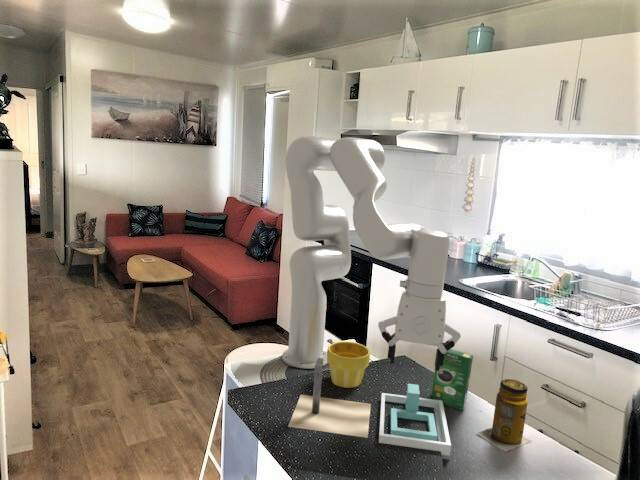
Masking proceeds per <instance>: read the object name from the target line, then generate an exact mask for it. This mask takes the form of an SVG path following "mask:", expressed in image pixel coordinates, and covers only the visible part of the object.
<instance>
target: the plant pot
mask: <svg viewBox="0 0 640 480" xmlns="http://www.w3.org/2000/svg"><path fill="white" fill-rule="evenodd" d="M326 350H327V351H326V354H327V364H328V365H329V371H330V378H331V383H333V385H335V386H337V387H341V388H346V389H347V388H350V389H351V388H357V387H359V385H361V382H362V380H363V377H364V374H365V371H366V368H368V366H369V365H370V359H371V351H370V348H369V347H367V346H365V345H364V344H361V343H358V342H353V341H337V342H336V341H335V342H332V343H331V344H330V345H329V346H328V347H327V349H326Z"/></svg>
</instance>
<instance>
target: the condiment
mask: <svg viewBox="0 0 640 480" xmlns="http://www.w3.org/2000/svg"><path fill="white" fill-rule="evenodd" d="M499 383H500V387H499V389H498V392H497V393H496V399H495V404H494V412H493V420H492V427H490V428H486V429H484V430H482V431H478V432H476V434H477V435H478V436H479V437H481V438H482V439H484V440H485V441H487V442H489V443H490V444H492V445H493V446H495V447H496V448H498V449H499V450H502V451H504V452H508V451H511V450H513V449H515V448H517V447H521V446H523V445H526V444H527V443H530V442H531V441H532V440H530V439H529V438H527V437H525V436H524V429H525V422H526V415H527V409H528V408H527V407H528V403H529V402H528V398H527V396H528V386H527V385H526V384H525V383H523V382H522V381H519V380H516V379H510V378H507V379H502V380H501V382H499Z"/></svg>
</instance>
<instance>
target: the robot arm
mask: <svg viewBox="0 0 640 480" xmlns="http://www.w3.org/2000/svg"><path fill="white" fill-rule="evenodd" d="M285 154H286V155H285V163H284V164H285V172H286V177H287V179H288V184H289V188H290V190H289V191H290V202H291V219H292V221H291V222H292V228H293V229H292V231H293V233H294V236H295V237H296V238H297V239H298V240H300V241H303V242H313V241H314V242H315V241H323V244H322V245H321V244H319V245H309V246H308V245H307V246H302V247H300V248H298V249H296V250H295V251H294V252H292V254H291V256H290V257H289V258H290V259H289V272H290V281H291V297H290V298H291V299H290V316H289V318H290V319H289V332H288V333H289V335H288V349H286V350H284V351H283V352H282V357H281V358H282V361H283V362H284V363H285V364H286V365H288V366H290V367H293V368H297V369H305V370H308V369H309V370H310V369H314V367H315V365H316V362H317V359H318V358H323V359H324V360H323V366H322V367H324V366H326V364H328V362H327V352H325V351H324V343H325V329H326V327H325V326H326V315H327V314H326V312H327V304H328V303H327V294H326V291H325V289H324V287H323V285H322V282H323V281H324V282H325V281H329V280H331V281H332V280H335V279H341V278H343V277H345V276H346V275H348V273H349V271H350V270H351V269H350V268H351V266H352V265H351V264H352V252H351V251H352V250H351V235H350V223H349V220H348V219H349V218H348V216H347V214H346V212H345V210H343V208H341V207H339V205H334V204H325V203H324V198H323V197H324V195H323V193H324V192H323V187H322V185H321V181H320V180H319V178H318V176H316V174H315V171H326V172H327V171H328V172H336V173H337V174H338V176H339V178H340V179H341V181H342V182H343V184H344V186H345V187H346V188H347V191H348V192H349V194H350V195H351V197H352V198H353V206H352V222H353V227H354V229H355V232H356V234H357V236H358V237H359V239H360V241H361V242H362V244H363V246H364V247H365V249H366V250H367V252H369V254H370V255H372V256H373V257H375V258H376V259H378V260H382V261H383V260H385V261H386V260H393V259H402V258H403V259H405V258H406V259H407V258H409V266H408V273H407V277H406V278H405V280H399V287H400V288H403V289H404V291H402V293H401V295H400V300H399V303H398V306H397V312H396V316H393V317H390V318H387V319H384V320H381V321H379V322H378V329H379V332H380V335H381V337H382V338H383V339H384V340H385V342H386V343H387V345H388V349H387V359H390V360H389V361H390V362H389V364H390V365H393V364H395V355H396V349H397V348H396V347H397V346H396V344H397V343H398V342H399V341H401V342H403V343H405V342H406V343H410V344H419V345H426V346H436V347H437V349H436V353H435V359H434V370H435V369H436V371H439V368H440V366H443V361H444V354H445V353H446V352H447V351H448V350H449V349H453V348H454V347H455V345H456V344H457V342H459V340H460V338H461V336H462V335H461V334H460V333H461V332H459V331H458V330H456V329H454V328H453V327H451V326H450V325H448V324H447V323H446V317H447V300H446V298H445V296H443V293H444V285H445V278H446V277H445V276H446V272H447V265H448V264H447V263H448V257H449V251H450V244H451V240H450V236H449V235H448V234H447V233H446V232H444V231H440V230H435V229H434V230H433V229H428V228H426V227H425V226H421V225H419V224H418V223H417V224H416V223H413V222H403V223H402V222H401V223H400V222H399V223H386V222H385V221H384V220H383V218H382V216H381V215H380V213H379V211H378V210H377V208H376V205H375V202H376V201H377V200H379V199H380V198H381V197H382V196H383V195H384V193H385V192H386V190H387V188H388V187H387V186H388V182H387V180H386V179H385V177H384V176H383V174H382V172H381V169H382V168H383V167H384V165H385V161H386V155H385V151H384V148H383V147H382V145H381V144H380V143H379V142H377V141H376V140H373V139H370V138H369V139H368V138H362V137H361V138H360V137H352V136H351V137H350V136H348V137H342V138H332V137H325V136H324V137H323V136H310V135H307V136H300V137H298V138H296V139H294V140H293V141H292V142H291V143H290V144H289V146H288V148H287V151H286V153H285ZM391 326H394V332H393V333H392V334H390V333H389V331H388V330H387V328H388V327H391ZM445 333H447V334H448V335H449V336H451V337H450V338H449V339H448V340H446V341H444V338H445Z"/></svg>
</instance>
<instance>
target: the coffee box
mask: <svg viewBox="0 0 640 480" xmlns="http://www.w3.org/2000/svg"><path fill="white" fill-rule="evenodd" d="M473 358H474V355H473V354H470V353H467V352H462V351H459V350H455V349H453V348H451V349H449V350H448V351H447V352H446V353H445V354H444V361H443V366H440V368H439V371H436V369H435V368H434V373H433V380H432V388H431V394H430V396H431V399H433V400H441V401H442V402H443V406H444V405H445V406H447V407H451V408H453V409H455V410H460V411H464V410H465V407H466V404H467V397H468V392H469V384H470V380H471V379H470V378H471V373H472V365H473Z"/></svg>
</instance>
